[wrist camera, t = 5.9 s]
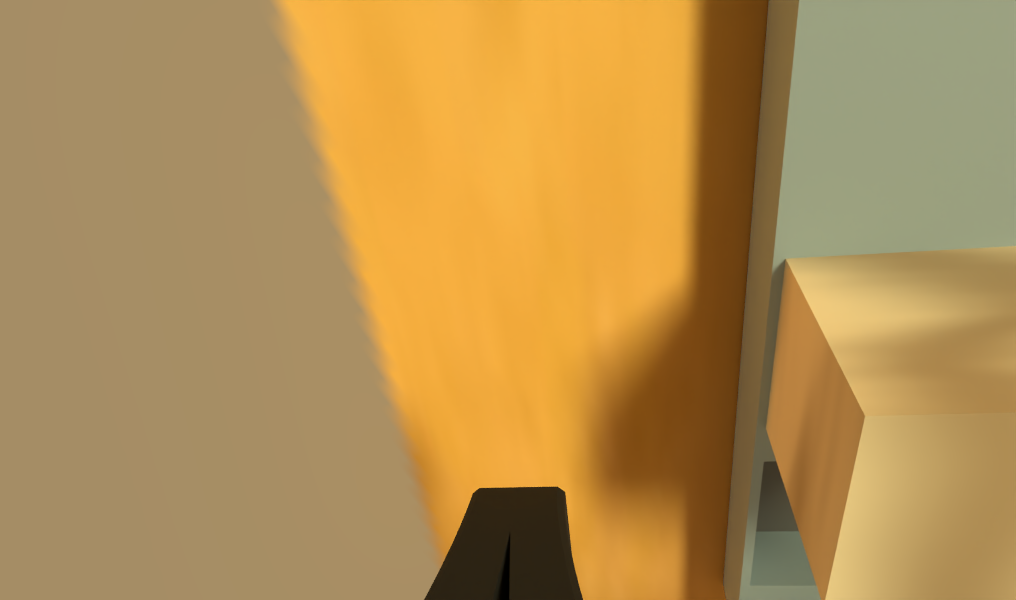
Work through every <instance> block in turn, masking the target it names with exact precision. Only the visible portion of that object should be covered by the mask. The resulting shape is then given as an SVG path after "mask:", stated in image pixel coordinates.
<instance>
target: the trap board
mask: <svg viewBox="0 0 1016 600" xmlns="http://www.w3.org/2000/svg"><path fill="white" fill-rule="evenodd" d="M1007 246H1016V0H769V2H768V15H767V28H766V41H765V53H764V66H763V79H762V92H761V105H760V117H759V130H758V143H757V156H756V169H755V181H754V194H753V207H752V220H751V233H750V246H749V258H748V271H747V284H746V297H745V310H744V322H743V335H742V348H741V361H740V374H739V386H738V399H737V412H736V425H735V438H734V450H733V463H732V476H731V489H730V502H729V514H728V527H727V540H726V553H725V566H724V578H723V586H724V591H725V596H726V600H821V598H820V595H819V592H818V588H817V585H816V582H815V579H814V576H813V573H812V570H811V567H810V564H809V561H808V557H807V554H806V551H805V548H804V545H803V542H802V539H801V536H800V533H799V530H798V527H797V523H796V520H795V517H794V514H793V511H792V508H791V505H790V502H789V499H788V496H787V492H786V489H785V486H784V483H783V480H782V477H781V474H780V471H779V468H778V465H777V461H776V458H775V455H774V452H773V449H772V446H771V443H770V440H769V437H768V434H767V430H766V423H767V414H768V406H769V397H770V388H771V380H772V371H773V363H774V354H775V345H776V337H777V328H778V319H779V311H780V302H781V294H782V285H783V276H784V268H785V259H788V258H807V257H825V256H843V255H861V254H880V253H898V252H916V251H934V250H953V249H971V248H989V247H1007Z"/></svg>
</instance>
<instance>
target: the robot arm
mask: <svg viewBox="0 0 1016 600" xmlns="http://www.w3.org/2000/svg"><path fill="white" fill-rule="evenodd" d="M424 600H583V598H582V595H581V591H580V588H579V584H578V580H577V576H576V572H575V568H574V563H573V558H572V552H571V543H570V533H569V524H568V515H567V505H566V496H565V492H564V491H563V490H561V489H560V488H558V487H516V488H479V489H478V490H477V491H475V492H474V493H473V495H472V498H471V501H470V503H469V506H468V508H467V511H466V513H465V516H464V518H463V521H462V523H461V525H460V528H459V530H458V532H457V535H456V537H455V539H454V541H453V543H452V546H451V548H450V550H449V552H448V554H447V556H446V558H445V560H444V562H443V564H442V567H441V569H440V571H439V573H438V574H437V576H436V578H435V580H434V582H433V584H432V586H431V588H430V590H429V592H428V594H427V596H426V598H425V599H424Z"/></svg>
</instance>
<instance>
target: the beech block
mask: <svg viewBox="0 0 1016 600" xmlns="http://www.w3.org/2000/svg"><path fill="white" fill-rule="evenodd" d="M766 430H767V434H768V437H769V440H770V443H771V446H772V449H773V452H774V455H775V458H776V461H777V465H778V468H779V471H780V474H781V477H782V480H783V483H784V486H785V489H786V492H787V496H788V499H789V502H790V505H791V508H792V511H793V514H794V517H795V520H796V523H797V527H798V530H799V533H800V536H801V539H802V542H803V545H804V548H805V551H806V554H807V557H808V561H809V564H810V567H811V570H812V573H813V576H814V579H815V582H816V585H817V588H818V592H819V595H820V598H821V600H1016V246H1007V247H989V248H971V249H953V250H934V251H916V252H898V253H880V254H861V255H843V256H825V257H807V258H788V259H785V268H784V276H783V285H782V294H781V302H780V311H779V319H778V328H777V337H776V345H775V354H774V363H773V371H772V380H771V388H770V397H769V406H768V414H767V423H766Z"/></svg>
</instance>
